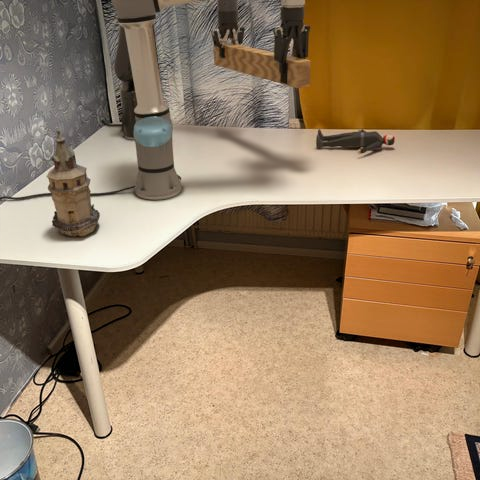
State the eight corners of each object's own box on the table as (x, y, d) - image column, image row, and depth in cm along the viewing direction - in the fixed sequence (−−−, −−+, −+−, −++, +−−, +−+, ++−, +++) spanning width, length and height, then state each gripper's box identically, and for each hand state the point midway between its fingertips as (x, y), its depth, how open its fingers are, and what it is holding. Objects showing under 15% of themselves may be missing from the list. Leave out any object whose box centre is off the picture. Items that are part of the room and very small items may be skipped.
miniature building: (80, 214, 164) (63, 117, 149) (111, 225, 157) (96, 125, 142) (44, 231, 154) (22, 130, 140) (75, 244, 147) (55, 139, 133)
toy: (319, 122, 224) (394, 122, 218) (319, 137, 227) (392, 137, 221) (314, 142, 202) (397, 143, 196) (314, 158, 205) (395, 159, 199)
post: (309, 86, 176) (310, 60, 172) (298, 88, 173) (298, 62, 169) (224, 63, 212) (224, 41, 208) (214, 64, 210) (213, 43, 206)
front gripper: (306, 3, 175) (303, 75, 186) (262, 7, 166) (262, 83, 177) (322, 4, 169) (318, 79, 181) (277, 9, 160) (276, 88, 172)
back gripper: (237, 6, 202) (238, 53, 211) (205, 9, 195) (207, 58, 204) (249, 8, 197) (249, 56, 205) (216, 11, 190) (218, 61, 198)
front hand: (290, 81), depth 179 cm, fingers closed on post, 5 cm apart
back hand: (228, 57), depth 204 cm, fingers closed on post, 5 cm apart
